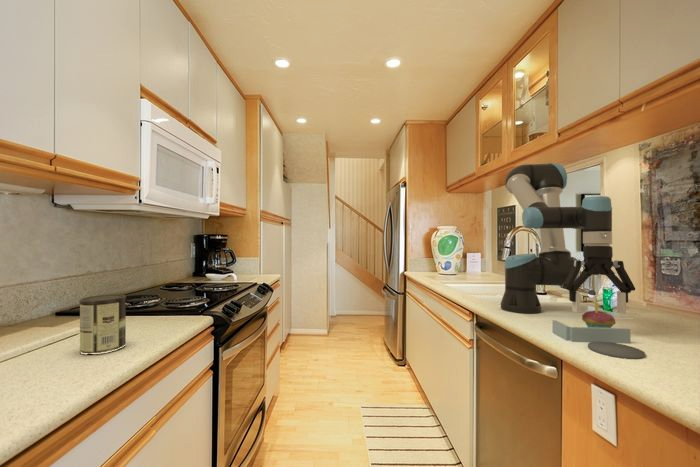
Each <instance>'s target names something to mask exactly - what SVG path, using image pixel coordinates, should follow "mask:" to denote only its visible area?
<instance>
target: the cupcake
mask: <svg viewBox="0 0 700 467" xmlns="http://www.w3.org/2000/svg"><path fill="white" fill-rule="evenodd" d="M594 297H595V298H594V309H595V310H588V311H586V312H584V313H583V314H582V315H581V319H582V321H583V322H585V324H586V327H596V328H613V326H614V325H616V319H615V318H614V316H613V315H611V314H609V313H607V312H605V311H601V310H599V305H598V298H597V296H594Z"/></svg>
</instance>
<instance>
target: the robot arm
mask: <svg viewBox="0 0 700 467" xmlns="http://www.w3.org/2000/svg"><path fill="white" fill-rule="evenodd" d="M567 183H568V174H567V171H566V169H565V167H564V166H563V165H562V164H560V163H552V162H548V163H537V164H535V163H533V164H532V163H530V164H529V163H528V164H527V163H526V164H525V163H524V164H521V165H517V166H515V167H514V168H512V169H511V170H510V171H509V172H508V173H507V174H506V177H505V180H504V185H505V188H506V190H507V191H508V193H510V194H511V195H513V196H514V198H515V200H516V201H517V202H518V204H519V206H520V208H521V209H522V210H523V211H522V216H521V221H522V225H523V226H524V228H526V229H534V230H539V234H540V236H539V237H540V245H541V250H540V251H539V253H538V254H537V255H538V256H537V255H536V253H522V254H521V253H520V254H512V255H508V256H507V257H505V260H504V293H503V296H502V299H501V301H500V309H502V310H504V311H506V312H513V313H518V314H539V313H541V312H542V305H541V303H540V300H539V297H538V294H537V286H559V287H562V289H564V290H567V291H569V292H568V294H569V295H568V296H569V301H570V302H571V306H572V307H571V308H572V309H571V311H572V312H574V313H576V314H580V313H581V312H580V310H581V309H580V303H581V302H580V292H579V291H578V290H579V289H580V287H581V286H582V285H584V283H585V282H586V281H587V279H589V277H591V276H592V275H594V276H599V275H601V276H606V277H607V278H608V279H609V280H610V282H611V283H612V284H613V285H614V286H615V287H616V288H617V290H619V291H616V311H617V312H616V313H619V314H622V315H626V314H627V303H628V304H629V294H630V293H631V292H633V291H635V290H636V287H635V285H634V283H633V281H632V280H631V278H630V276H629V274H628V272H627V271H626V269H625V265H624V261H623V260H614V261H613V259H612V258H613V255H614V254H613V246H610V245H612V244H613V229H612V228H613V207H612V199H611V198H610V196H605V195H603V196H602V195H599V196H596V195H595V196H588V197H585V198H583V199H582V203H581V206H561V200H560V195H561V194H562V193H563V190H564V189H565V188H566V187H567ZM564 229H573V230H576V229H577V230H582V244H583V245H584V246H583V247H582V254H583V255H582V257H583V261H581V260H578V259H577V258H576V257H575V256H572V253H571V251H570V250H568V249H567V247H566V241H565V233H564ZM582 267H584V269H583V270H581V268H582ZM612 268H614V269H615V271H616V272H614V270H613V269H612ZM580 270H581V272H580ZM579 272H580V274H579ZM616 273H617V275H618V276H617V275H616Z"/></svg>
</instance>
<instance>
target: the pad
mask: <svg viewBox="0 0 700 467" xmlns="http://www.w3.org/2000/svg"><path fill="white" fill-rule="evenodd" d="M587 349H589V350H590V351H592V352H594V353H597V354H600V355H604V356H607V355H608V357H612V358H617V357H619V358H618V359H624V358H626V359H625V360H641V359H644V358H646V352H645V351H644V350H641V349H640V348H636V347H633V346H630V345H626V344H624V343H610V342H588V343H587Z"/></svg>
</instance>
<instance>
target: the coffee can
mask: <svg viewBox="0 0 700 467" xmlns="http://www.w3.org/2000/svg"><path fill="white" fill-rule="evenodd" d="M126 300H127V294H126V295H125V294H120V293H119V294H118V293H117V294H116V293H115V294H114V293H113V294H111V293H110V294H100V295H93V296H86V297H83V298H80V299H79V353H80V352H82V353H88V354H91V353H101V352H107V351H112V350H115V349H118V348H120V347H123V346H124V345H125V344H126V340H127V339H126V331H127V330H126V329H127V328H126V327H127V326H126V325H127V324H126V322H127V321H126V316H127V315H126V312H127V311H126V309H127V308H126V307H127V306H126V302H127V301H126ZM126 345H127V344H126Z"/></svg>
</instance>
